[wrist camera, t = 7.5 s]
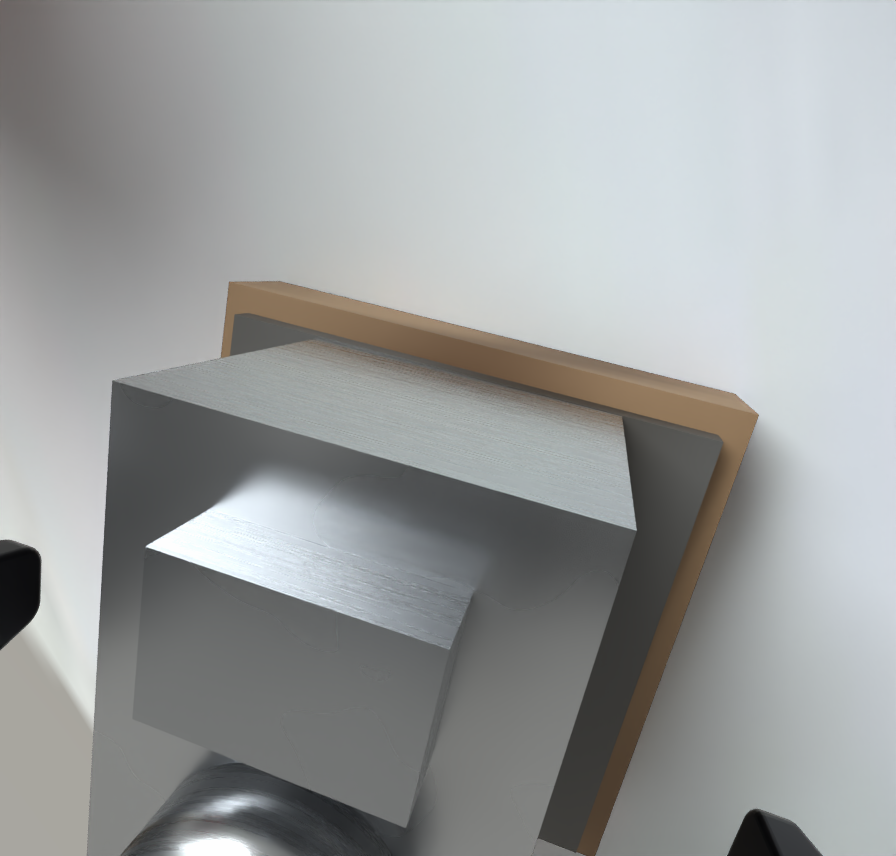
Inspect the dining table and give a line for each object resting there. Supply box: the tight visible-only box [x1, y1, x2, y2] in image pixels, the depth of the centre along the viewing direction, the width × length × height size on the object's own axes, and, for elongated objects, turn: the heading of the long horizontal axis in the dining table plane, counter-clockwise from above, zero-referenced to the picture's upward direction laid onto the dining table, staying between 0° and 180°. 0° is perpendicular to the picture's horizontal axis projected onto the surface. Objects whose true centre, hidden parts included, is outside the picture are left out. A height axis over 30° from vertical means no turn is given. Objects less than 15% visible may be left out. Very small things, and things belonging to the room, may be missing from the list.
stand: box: [221, 281, 759, 856], centre depth 11 cm, size 8×8×2 cm
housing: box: [87, 339, 637, 856], centre depth 7 cm, size 4×7×5 cm, turn 168°
